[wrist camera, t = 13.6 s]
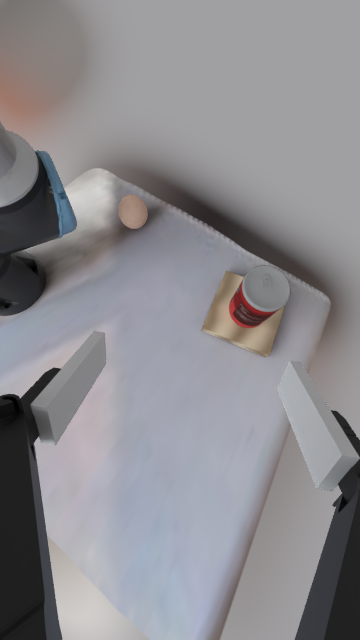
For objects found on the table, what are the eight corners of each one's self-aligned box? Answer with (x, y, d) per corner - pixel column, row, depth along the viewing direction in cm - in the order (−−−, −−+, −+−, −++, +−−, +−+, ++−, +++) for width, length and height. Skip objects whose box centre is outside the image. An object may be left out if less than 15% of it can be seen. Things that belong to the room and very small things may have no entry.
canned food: (258, 290, 47) (281, 261, 37) (270, 325, 45) (298, 305, 34) (223, 296, 47) (237, 268, 36) (233, 332, 44) (250, 314, 34)
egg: (119, 217, 56) (110, 190, 48) (144, 210, 57) (139, 182, 49) (126, 238, 54) (118, 214, 47) (152, 230, 55) (149, 205, 47)
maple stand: (200, 331, 47) (202, 327, 45) (223, 277, 51) (226, 270, 48) (263, 357, 46) (269, 355, 43) (282, 299, 50) (288, 294, 47)
